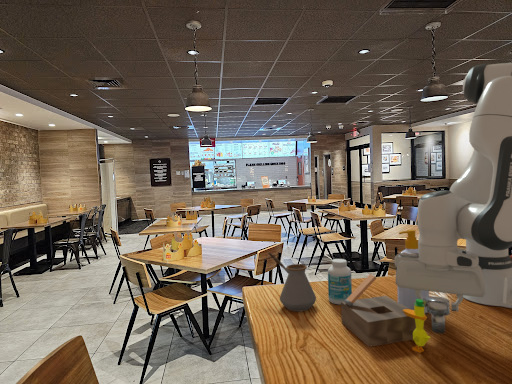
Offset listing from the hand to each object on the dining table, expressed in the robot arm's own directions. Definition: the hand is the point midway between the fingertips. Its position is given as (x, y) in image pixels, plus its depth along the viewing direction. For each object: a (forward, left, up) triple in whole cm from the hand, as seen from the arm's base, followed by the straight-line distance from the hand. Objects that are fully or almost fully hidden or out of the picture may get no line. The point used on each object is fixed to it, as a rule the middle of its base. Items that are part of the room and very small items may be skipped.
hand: (438, 308), depth 88 cm
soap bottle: (-3, -14, -6) cm, 16 cm away
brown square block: (+14, -5, -6) cm, 16 cm away
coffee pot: (+30, -32, -6) cm, 45 cm away
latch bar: (+16, -9, +3) cm, 19 cm away
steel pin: (0, 0, -6) cm, 6 cm away
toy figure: (+11, +6, -6) cm, 14 cm away
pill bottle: (+14, -27, -6) cm, 31 cm away
